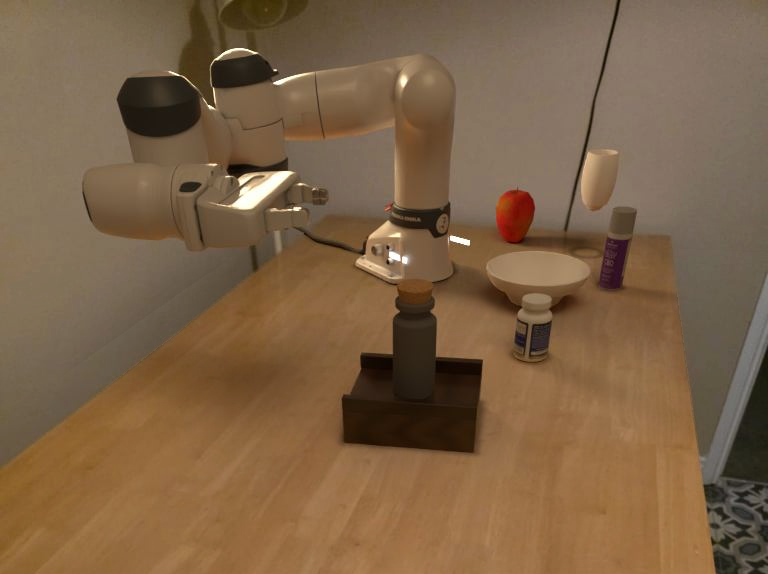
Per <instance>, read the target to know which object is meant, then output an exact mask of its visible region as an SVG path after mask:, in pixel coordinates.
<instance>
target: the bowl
mask: <svg viewBox="0 0 768 574" xmlns="http://www.w3.org/2000/svg"><path fill="white" fill-rule="evenodd" d="M485 266H486V267H485V269H486V274H487V277H488V278H489V280H490V282H491V284H492V285H493V286H494V287H495V288H496V289H498V290H499V291H501V292H504V293H505V294H506V296H507V298H508V300H509V301H510V302H511V303H512V304H514V305H516V306H519V307H522V305H521V304H522V298H523V296H525V295H527V294H533V293H539V294H545V295H548V296H550V297H551V298H552V303H551V307H553V306H556V305H557V304H558V303H559V302H560V301H561V300H562V299H563V298H564V297H566V296H569V295H571V294H574V293H576V292H577V291H579V290H580V289H581V288H582V287H583V286H584V285H585V283H586V282H587V281H588V279H589V277H590V275H591V271H592V270H591V268H590V266H589V265H588V264H587V263H586V262H585V261H583V260H581V259H580V258H576V257H575V256H571V255H568V254H563V253H559V252H552V251H543V250H521V251H514V252H513V251H512V252H507V253H502V254H499V255H497V256H495V257H492V258H490V259H489V260H488V261H487V262H486V264H485Z"/></svg>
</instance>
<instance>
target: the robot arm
mask: <svg viewBox="0 0 768 574" xmlns="http://www.w3.org/2000/svg"><path fill="white" fill-rule="evenodd" d="M279 75H280V72H279V71H278V69H274V68H273V67H272V65H271V64H270V62H269V61H268V59H267V58H266V57H264V56H263V55H262V54H260V53H259V52H257V51H252V50H249V49H246V48H232V49H229V50H226V51H225V52H223V53H222V54H220V55H219V56H218V57H216V58H214V59H213V61H212V62H211V64H210V66H209V78H210V79H209V80H210V87H211V88H212V89H213V98H214V104H215V107H213V106H211V105H208V103H207V101H206V100H205V98H204V95H203V93H202V92H201V91H200V89H199V88H198V87H196V85H194V84H193V83H192V82H191V81H189V80H188V79H187V78H186V77H185V76H184V75H179V74H177V73H175V72H172V71H168V70H163V69H150V70H143V71H139V72H137V73H134V74H132V75H131V76H130V77H127V78H126V79H125V80H124V82H123V84H122V85H121V88H120V89H119V91H118V93H117V96H116V102H117V106H118V110H119V112H120V116H121V119H122V122H123V125H124V127H125V132H126V135H127V139H128V143H129V148H130V151H131V155H132V160H133V162H128V163H127V162H126V163H115V164H107V165H99V166H95V167H89V168H88V169H86V170H85V173H84V174H83V178H82V183H81V186H82V187H81V188H82V193H81V194H82V198H83V202H84V206H85V209H86V212H87V215H88V218H89V221H90V222H91V223H92V225H93V227H94V229H96V230H97V231H98V232H100V233H102V234H104V235H108V236H113V237H118V238H124V239H131V240H140V241H141V240H142V241H163V240H167V239H178V240H181V241H184V244H185V247H186V250H187V251H188V252H194V253H195V252H197V253H199V252H201V253H202V252H204V251H206V250H207V249H208V248H210V249H231V248H233V249H234V248H246V247H252V246H255V245H258V244H260V243H261V242H262V241H263V240H264V239H265V238H266V237H267V236H268V235H269V233H270V232H278V231H283V230H285V231H287V230H289V229H291V228H292V229H293V228H294V229H295V230H297V231H299V232H301V233H303V234H306V235H307V236H308V237H309V238H310V239H312V240H313V241H316V242H319V243H323V244H327V245H332V246H336V247H340V248H343V249H345V250H347V251H349V252H352V253H356V254H359V255H361V256H359V257H358V258H357V259H355V260H356V261H355V267H357V268H359V269H361V270H363V271H365V272H367V273H369V274H371V275H373V276H375V277H377V278H378V279H381V280H383V281H385V282H386V283H389V284H391V285H392V284H393V285H397V284H398V283H399V282H401V281H404V280H409V279H422V280H427V281H429V282H431V283H434V282H439V281H443V280H446V279H448V278H450V277H451V276H453V274H454V267H453V263H452V262H453V261H452V258H451V249H450V241H452V242H455V243H460V244H462V245H466V246H470V243H471V242H470V240H468V239H465V238H460V237H457V236H453V235H450V236H449V228H450V223H451V211H452V209H451V201H449V200H450V178H451V177H450V175H451V157H452V148H453V140H454V131H455V130H454V129H455V118H456V106H457V105H456V104H457V87H456V82H455V80H454V78H453V76H452V73H451V72H450V71H449V70H448V69H447V67H446V66H445V65H444V64H443V63H442V62H441V61H440V60H439V59H438V58H436V57H435V56H433V55H431V54H427V53H418V54H417V53H416V54H410V55H404V56H400V57H393V58H389V59H383V60H377V61H373V62H368V63H364V64H359V65H352V66H345V67H337V68H331V69H324V70H315V71H310V72H304V73H300V74H295V75H292V76H289V77H285V78H282V79H280V80H277V81H275V82H273V79H272V78H274V77H276V76H279ZM393 127H394V159H393V160H394V201H393V202H391V203H389V204H386V205H384V207H386V208H385V210H384V211H385V212H389V215H388V218H387V219H388V220H386V221H385V222H384V223H383V224H382V225H380V226H379V227H378V228H377V229H376V230H374V231H373V232H372V233H371V234H370V235H367V236H366V237H365V240H364V241H363V243H362V249H355V248H353V247H351V246H349V245H348V244H346V243H343V242H340V241H336V240H333V239H328V238H323V237H320V236H317V235H315V234H313V233H312V232H310V231H309V230H308V229H306V227H307V226H308V225H309V224H310V222H311V211H310V209H308V208H307V207H296V206H297V205H298V204H300V205H301V204H312V205H313V206H325V205H326V204H327V203H328V202H329V200H330V195H329V193H330V192H329V189H328V188H327V187H323V186H320V187H319V186H313V185H310V184H307V183H302V182H301V176H300V174H299V173H298V172H297V171H296V172H295V171H290V170H289V157H288V156H287V150H286V149H287V148H286V141H294V142H295V141H296V142H310V141H311V142H312V141H322V140H323V141H324V140H332V139H338V138H346V137H353V136H354V137H355V136H361V135H367V134H371V133H373V132H376V131H380V130H384V129H388V128H393Z"/></svg>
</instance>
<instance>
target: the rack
mask: <svg viewBox="0 0 768 574" xmlns="http://www.w3.org/2000/svg"><path fill="white" fill-rule="evenodd" d="M359 362H360V364H359V365H360V369H359V372H358V373H357V376H356V377H355V381H354V383H353V384H352V385H353V386H352V388H351V390H350V392H349V394H348V393H345V394H344V393H343V394H342V396H341V410H342V411H341V412H342V425H343V426H342V427H343V428H342V429H343V442H344V443H346V444H357V445H358V444H359V445H372V446H373V445H374V446H384V447H385V446H386V447H398V448H409V449H412V448H413V449H423V450H434V451H435V450H436V451H448V452H449V451H450V452H464V453H475V447H476V438H477V428H478V420H479V412H480V411H479V410H480V403H481V391H482V380H483V379H482V378H483V367H484V366H483V365H484V359H483V358H482V359H481V358H466V357H447V356H436V367H435V388H434V393H433V394H432V395H431V396H430V397H428V398H426V399H408V398H400V397H398V396H397V395H395V393H394V390H393V353H382V352H381V353H379V352H364V351H362V352H361V353H360V355H359Z"/></svg>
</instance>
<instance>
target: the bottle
mask: <svg viewBox="0 0 768 574" xmlns="http://www.w3.org/2000/svg"><path fill="white" fill-rule="evenodd" d="M433 283H434V282H429V281H427V280H422V279H409V280H404V281H401V282H399V283H398V284H396V290H397V296H396V297H395V299H394V306H395V309H396V310H398V312H397V313H396V314H395V315H394V316H393V317H392V354H393V390H394V393H395V395H397V396H398V397H400V398H408V399H426V398H428V397H430V396H431V395H432V394H433V393H434V388H435V367H436V357H437V337H438V336H437V334H438V332H437V331H438V319H437V316H436V315H435V314H434V313H433V312H431V311H432V310H433V309H434V308H435V306H436V300H435V297H434V296H433V292H434V287H435V286H434V284H433Z"/></svg>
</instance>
